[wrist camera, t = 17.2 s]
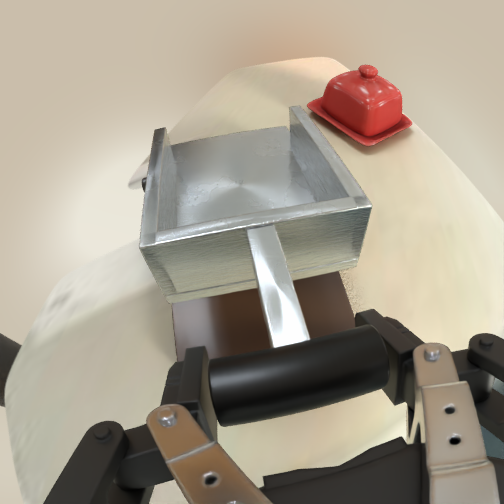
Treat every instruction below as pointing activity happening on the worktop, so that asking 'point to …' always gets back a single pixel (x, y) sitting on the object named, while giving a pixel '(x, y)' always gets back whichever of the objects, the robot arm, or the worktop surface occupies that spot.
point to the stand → (256, 316)
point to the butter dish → (362, 106)
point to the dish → (263, 258)
